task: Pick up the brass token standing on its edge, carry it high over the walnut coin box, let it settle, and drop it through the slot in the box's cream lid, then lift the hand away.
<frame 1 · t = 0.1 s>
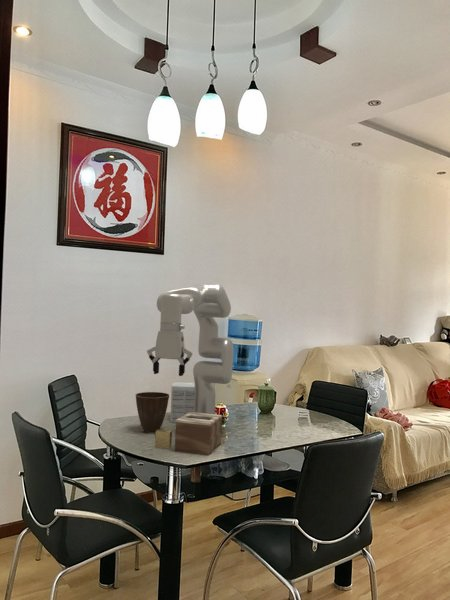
hand: (168, 374, 187), 31 cm above the table, fingers open, 9 cm apart
coin box: (198, 447, 204), on the table
supplement box: (183, 420, 252), on the table
brass token: (163, 447, 203), on the table
plant pot: (151, 430, 228), on the table
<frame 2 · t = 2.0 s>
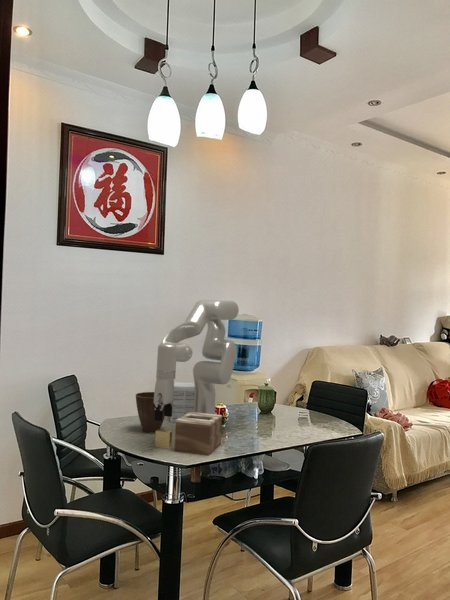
hand: (163, 418, 202), 11 cm above the table, fingers open, 9 cm apart
nothing on the table moved.
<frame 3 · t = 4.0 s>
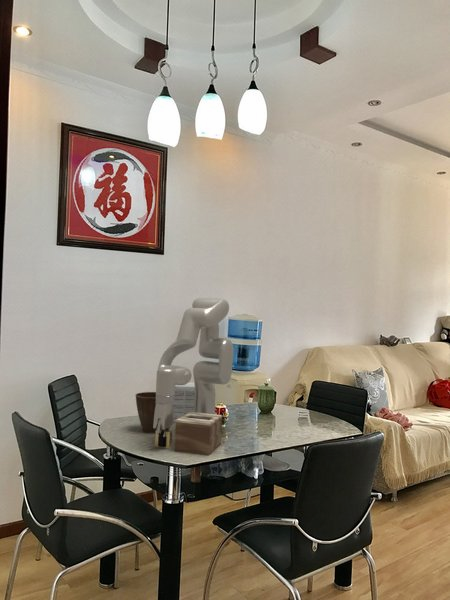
hand: (163, 445, 203), 1 cm above the table, fingers closed on brass token, 2 cm apart
brass token: (163, 447, 203), on the table, touching gripper
everything else where it was.
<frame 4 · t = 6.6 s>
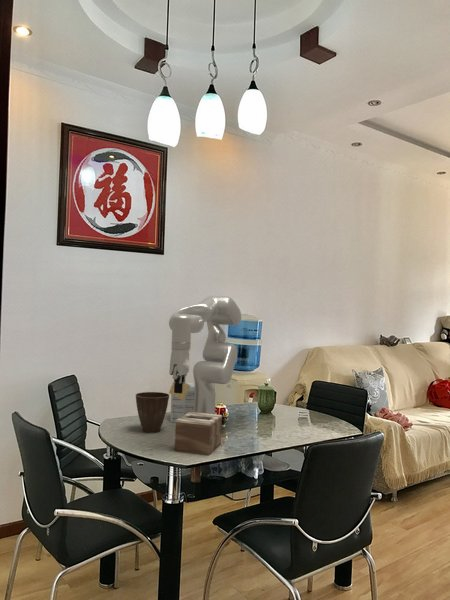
hand: (179, 392, 204), 22 cm above the table, fingers closed on brass token
brass token: (186, 392, 203), point 22 cm above the table, tilted 69°, touching gripper
everything else where it was.
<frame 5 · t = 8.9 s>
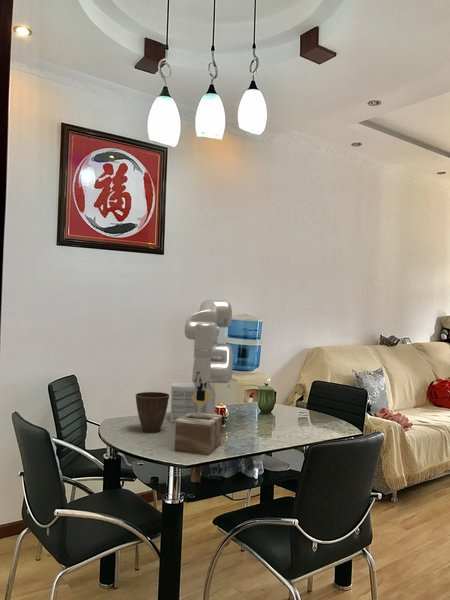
hand: (201, 399, 204), 19 cm above the table, fingers closed on brass token
brass token: (207, 391, 204), point 23 cm above the table, tilted 136°, touching gripper
everything else where it was.
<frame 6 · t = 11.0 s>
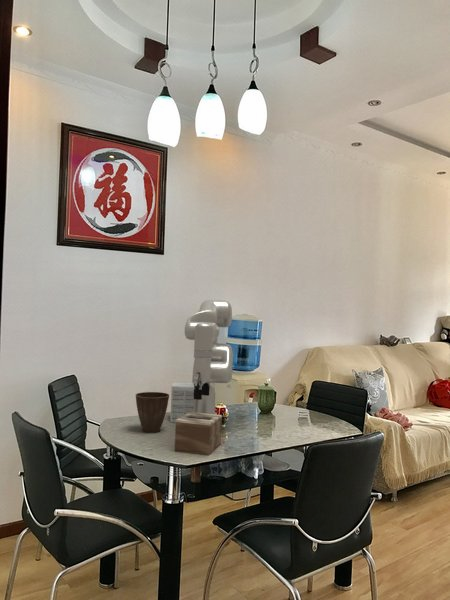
hand: (201, 397, 204), 20 cm above the table, fingers open, 9 cm apart
brass token: (198, 429, 204), point 7 cm above the table, tilted 180°, touching coin box
everything else where it was.
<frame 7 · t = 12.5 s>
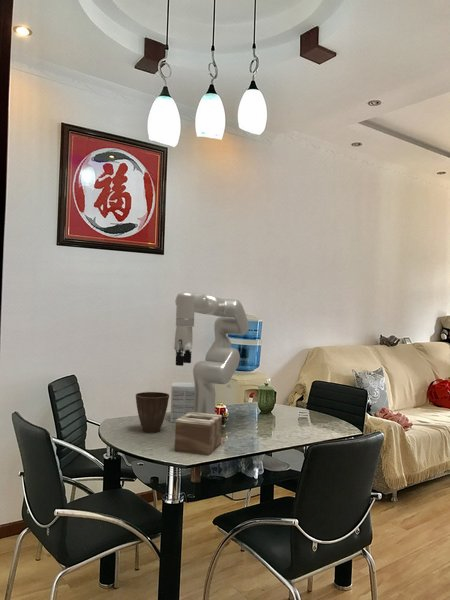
hand: (183, 364, 212), 32 cm above the table, fingers open, 9 cm apart
nothing on the table moved.
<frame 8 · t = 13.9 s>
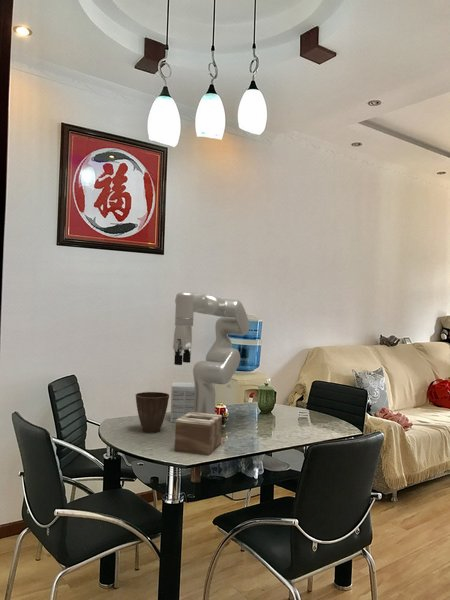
hand: (182, 363, 212), 32 cm above the table, fingers open, 9 cm apart
nothing on the table moved.
at the end: brass token inside the target area on the coin box (0.5 cm from its centre), point 7.3 cm above the coin box's base; the gripper is holding nothing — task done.
